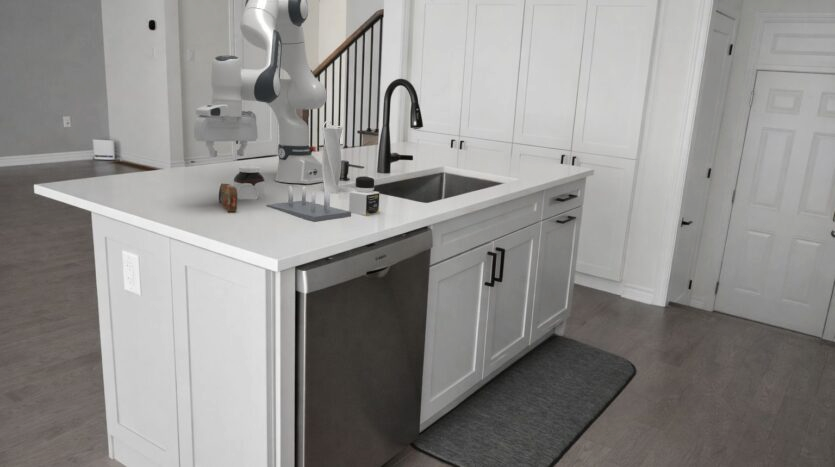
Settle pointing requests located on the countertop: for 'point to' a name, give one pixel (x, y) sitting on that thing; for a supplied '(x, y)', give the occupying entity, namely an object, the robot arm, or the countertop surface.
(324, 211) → the pin tray
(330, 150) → the skyscraper
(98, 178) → the countertop surface
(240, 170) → the spread jar
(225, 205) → the tin
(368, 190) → the medicine bottle
